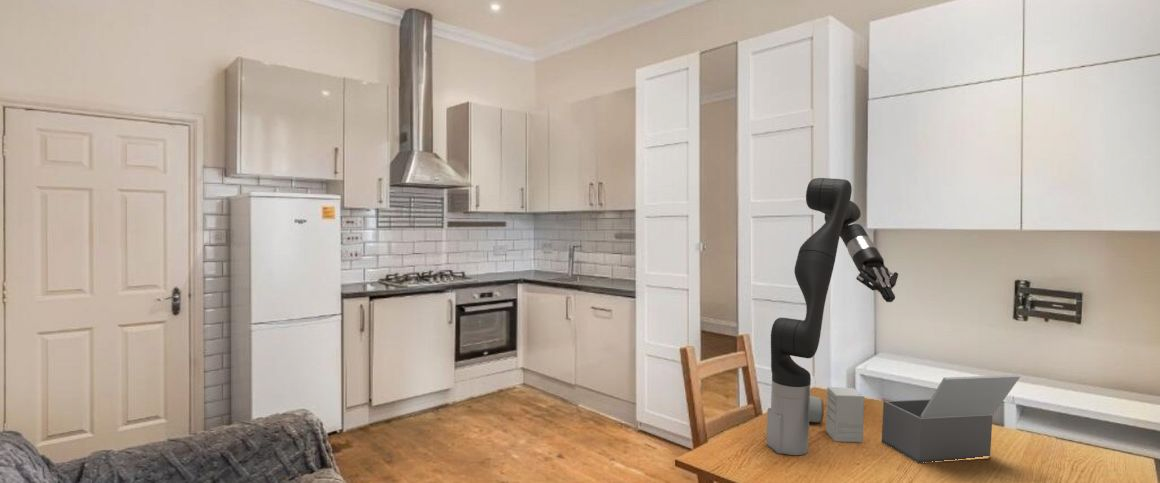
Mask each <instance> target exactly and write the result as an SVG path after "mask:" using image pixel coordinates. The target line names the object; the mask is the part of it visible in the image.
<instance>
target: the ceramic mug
mask: <svg viewBox="0 0 1160 483" xmlns="http://www.w3.org/2000/svg"><path fill="white" fill-rule="evenodd" d="M824 403H825V402H824V400H823V399H822V398H821V397H818V396H815V395H810V409H809V423H822V422H823V419H824V413H825V412H824V411H825V404H824Z"/></svg>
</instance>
